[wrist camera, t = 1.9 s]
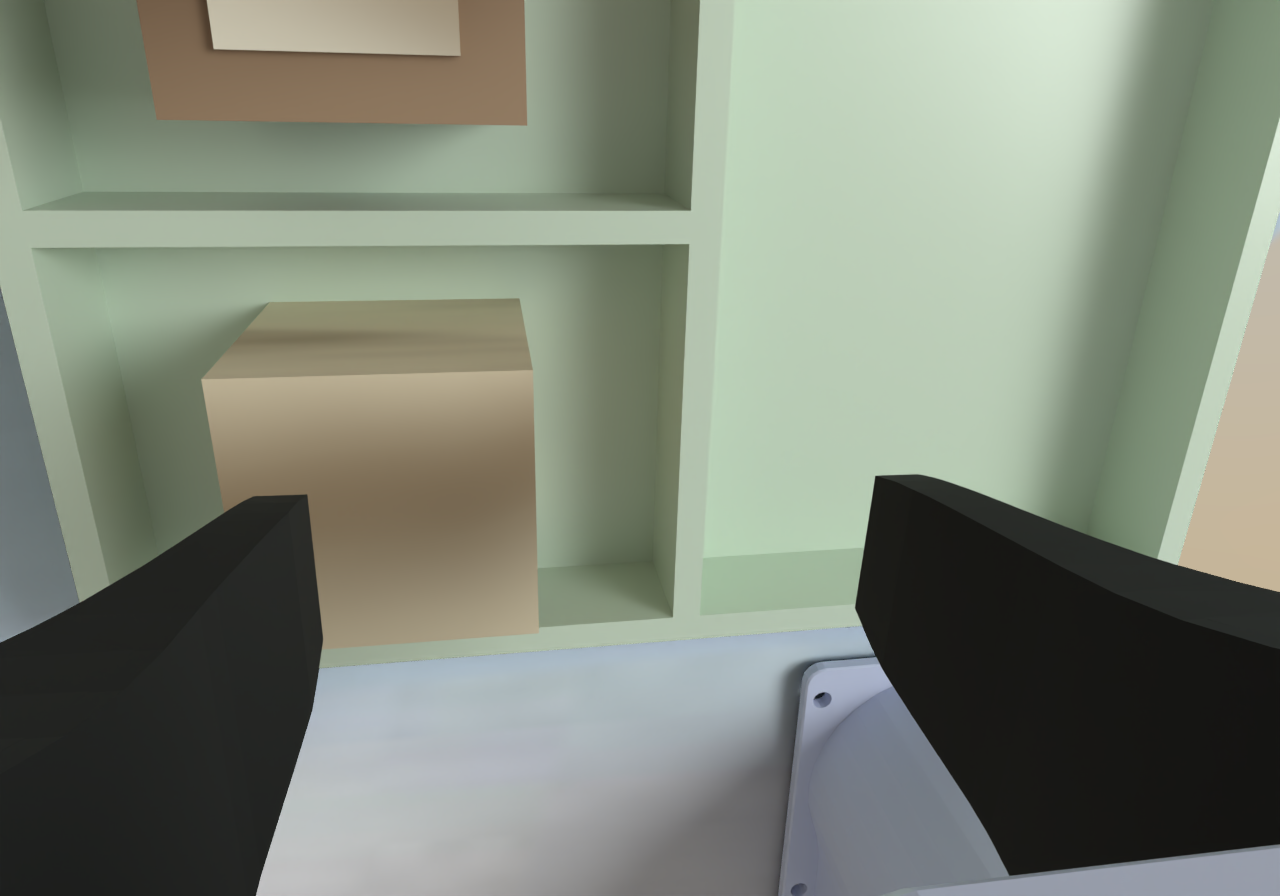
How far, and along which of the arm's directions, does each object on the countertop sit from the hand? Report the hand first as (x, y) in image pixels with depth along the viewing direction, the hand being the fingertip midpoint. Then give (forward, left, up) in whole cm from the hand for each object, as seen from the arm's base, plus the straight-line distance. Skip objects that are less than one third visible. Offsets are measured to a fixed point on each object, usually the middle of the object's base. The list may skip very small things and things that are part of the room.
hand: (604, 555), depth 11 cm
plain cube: (-1, +3, -9) cm, 10 cm away
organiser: (+3, -3, -10) cm, 10 cm away
